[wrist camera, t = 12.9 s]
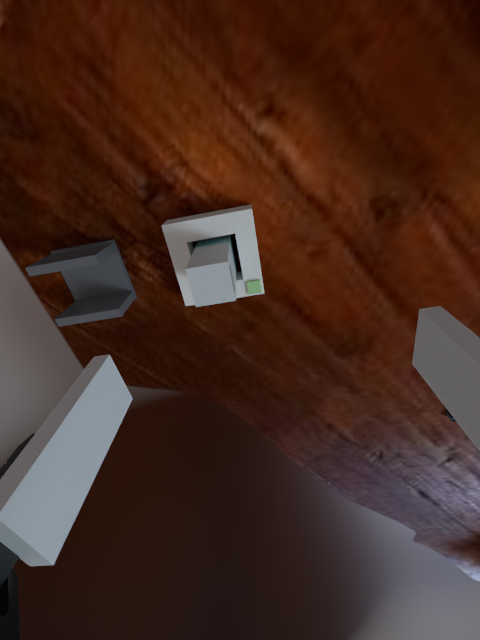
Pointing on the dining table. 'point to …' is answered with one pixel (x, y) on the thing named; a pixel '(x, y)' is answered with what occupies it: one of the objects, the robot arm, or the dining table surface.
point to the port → (210, 226)
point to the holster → (90, 281)
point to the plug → (212, 271)
